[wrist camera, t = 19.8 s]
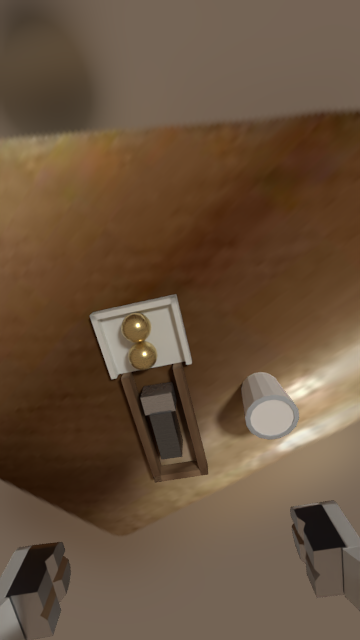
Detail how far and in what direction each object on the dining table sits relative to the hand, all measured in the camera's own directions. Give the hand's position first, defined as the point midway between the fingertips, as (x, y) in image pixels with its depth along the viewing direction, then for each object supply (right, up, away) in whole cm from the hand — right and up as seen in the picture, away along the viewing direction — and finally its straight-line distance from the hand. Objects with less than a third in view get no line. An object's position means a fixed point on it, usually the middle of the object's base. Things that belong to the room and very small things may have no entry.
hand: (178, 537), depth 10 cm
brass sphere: (-5, +1, +31) cm, 31 cm away
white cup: (+12, -3, +34) cm, 36 cm away
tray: (-5, +5, +31) cm, 32 cm away
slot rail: (-2, -8, +36) cm, 37 cm away
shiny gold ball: (-5, +5, +30) cm, 31 cm away
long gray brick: (-3, -2, +32) cm, 33 cm away
